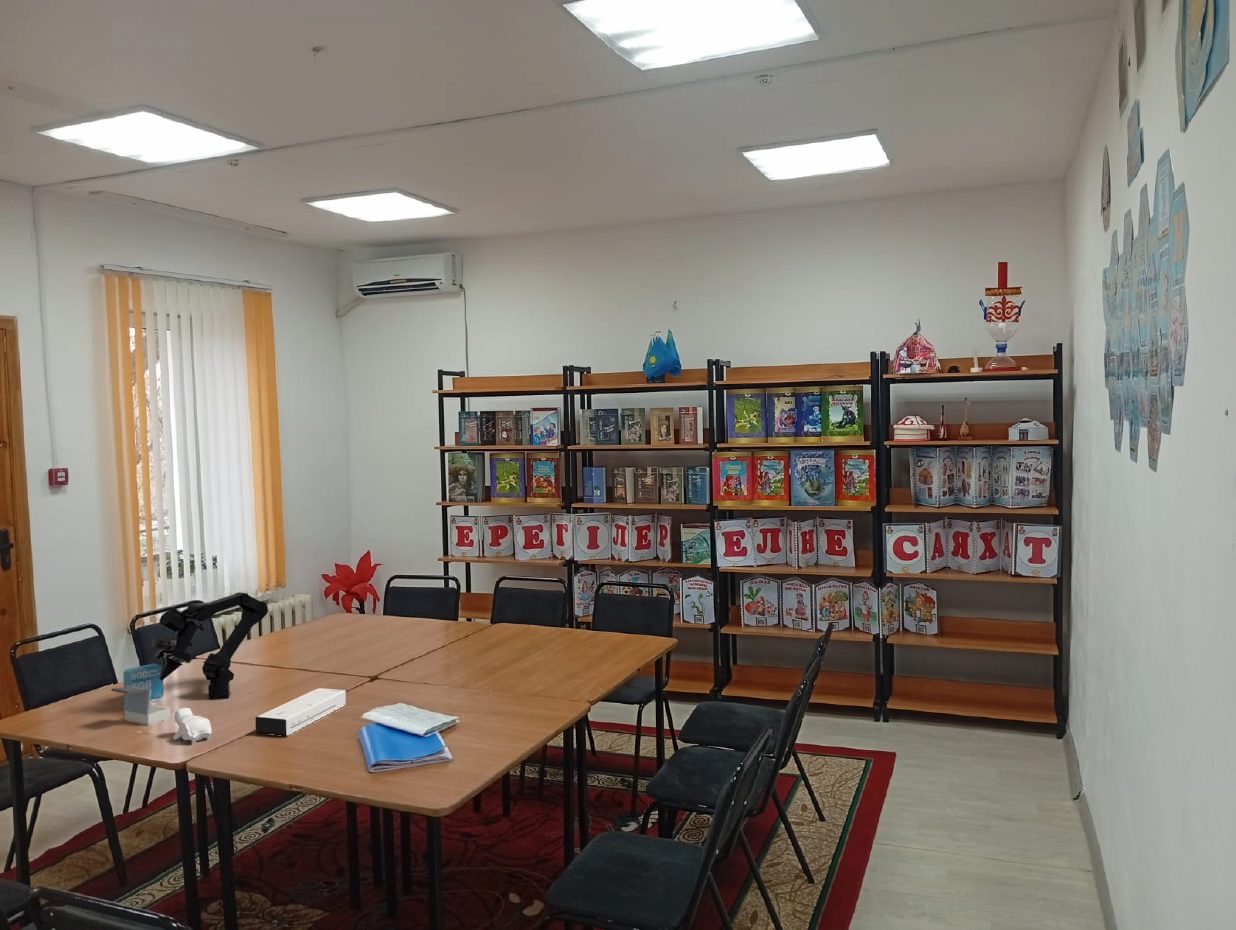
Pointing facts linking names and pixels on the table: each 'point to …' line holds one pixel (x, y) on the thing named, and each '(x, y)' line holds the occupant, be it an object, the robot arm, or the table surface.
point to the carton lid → (135, 699)
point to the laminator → (300, 712)
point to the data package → (145, 679)
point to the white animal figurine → (191, 726)
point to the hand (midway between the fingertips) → (160, 679)
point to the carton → (149, 715)
